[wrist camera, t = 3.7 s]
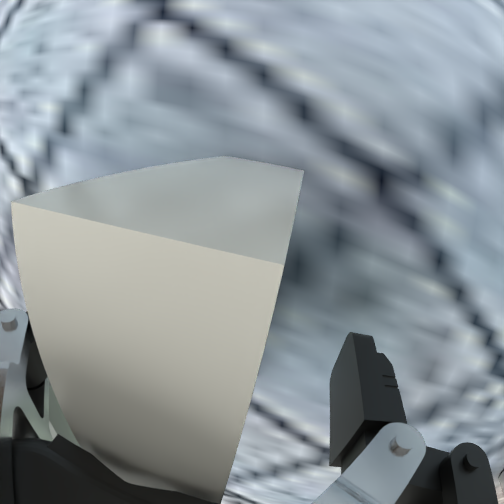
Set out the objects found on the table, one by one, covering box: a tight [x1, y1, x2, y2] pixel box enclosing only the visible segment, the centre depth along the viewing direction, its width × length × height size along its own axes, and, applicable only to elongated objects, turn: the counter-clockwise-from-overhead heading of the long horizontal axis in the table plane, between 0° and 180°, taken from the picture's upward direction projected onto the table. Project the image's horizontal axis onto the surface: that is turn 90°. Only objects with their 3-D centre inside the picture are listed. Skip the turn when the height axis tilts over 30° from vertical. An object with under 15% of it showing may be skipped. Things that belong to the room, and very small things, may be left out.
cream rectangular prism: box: [11, 156, 304, 504], centre depth 8 cm, size 3×10×9 cm, turn 170°
